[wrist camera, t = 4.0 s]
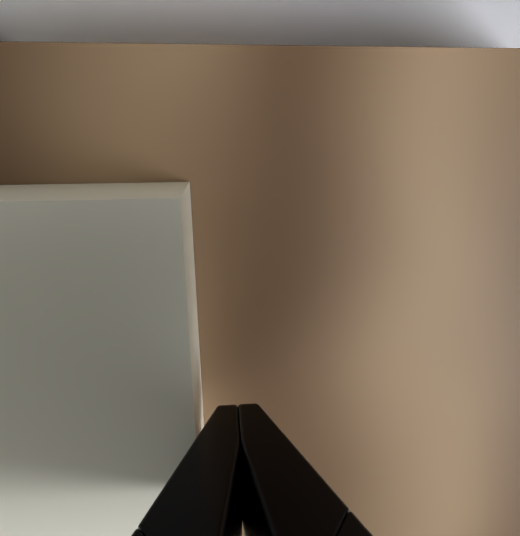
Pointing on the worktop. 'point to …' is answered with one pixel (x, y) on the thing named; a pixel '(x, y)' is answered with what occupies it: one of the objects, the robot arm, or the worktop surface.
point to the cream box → (94, 353)
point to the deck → (324, 244)
